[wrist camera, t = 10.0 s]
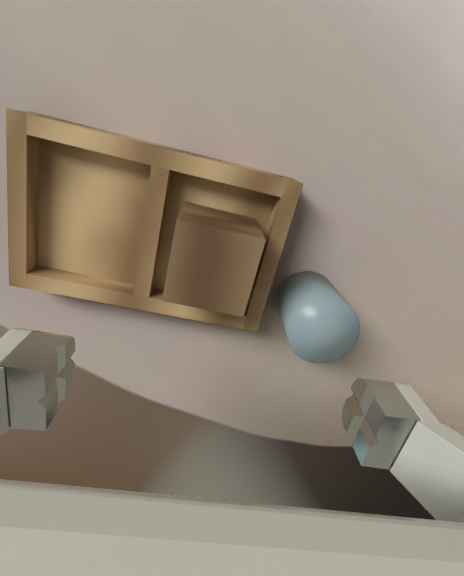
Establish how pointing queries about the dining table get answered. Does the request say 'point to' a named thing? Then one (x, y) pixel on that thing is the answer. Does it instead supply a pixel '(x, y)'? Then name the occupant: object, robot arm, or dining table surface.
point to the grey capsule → (316, 318)
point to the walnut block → (213, 259)
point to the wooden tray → (125, 214)
